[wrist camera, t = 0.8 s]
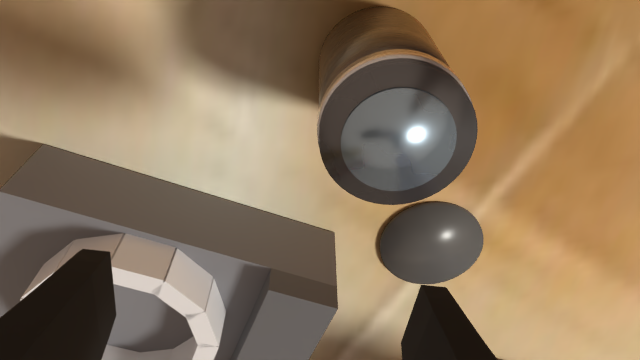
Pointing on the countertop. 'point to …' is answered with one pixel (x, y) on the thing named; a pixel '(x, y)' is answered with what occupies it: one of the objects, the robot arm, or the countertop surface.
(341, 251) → the countertop surface
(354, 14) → the lens
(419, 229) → the lens cap
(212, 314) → the camera body
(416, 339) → the robot arm
